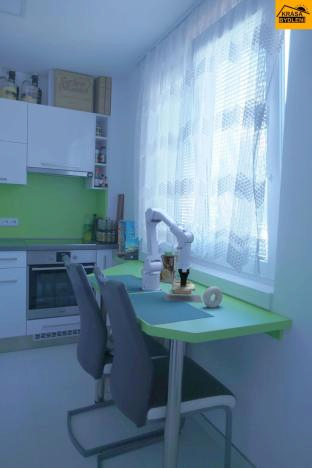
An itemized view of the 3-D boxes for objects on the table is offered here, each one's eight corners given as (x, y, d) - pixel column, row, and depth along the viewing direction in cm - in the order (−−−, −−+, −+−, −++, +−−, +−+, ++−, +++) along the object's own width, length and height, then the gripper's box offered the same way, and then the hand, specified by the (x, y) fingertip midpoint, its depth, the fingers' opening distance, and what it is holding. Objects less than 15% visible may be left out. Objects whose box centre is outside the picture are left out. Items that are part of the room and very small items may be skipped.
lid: (171, 289, 161) (172, 279, 160) (172, 284, 171) (172, 275, 171) (195, 290, 160) (195, 280, 160) (193, 285, 171) (194, 276, 171)
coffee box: (176, 281, 207) (177, 255, 205) (173, 283, 201) (174, 256, 200) (162, 279, 210) (163, 254, 209) (159, 281, 204) (160, 255, 203)
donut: (205, 310, 149) (206, 287, 148) (200, 308, 152) (201, 286, 151) (223, 308, 153) (224, 286, 152) (218, 305, 156) (219, 284, 156)
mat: (163, 301, 160) (164, 300, 160) (164, 294, 173) (164, 293, 173) (202, 303, 159) (202, 302, 159) (200, 296, 172) (200, 295, 172)
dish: (173, 294, 175) (174, 284, 174) (173, 290, 184) (174, 281, 183) (191, 295, 174) (191, 285, 174) (190, 291, 183) (190, 281, 183)
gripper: (193, 259, 157) (192, 288, 158) (192, 255, 172) (190, 281, 173) (178, 258, 157) (177, 287, 159) (178, 254, 172) (176, 280, 173)
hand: (183, 284), depth 166 cm, fingers closed on lid, 3 cm apart
